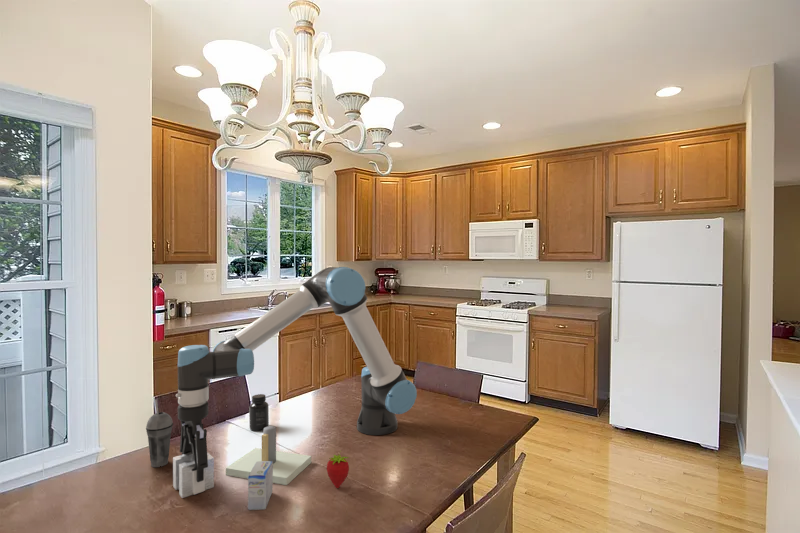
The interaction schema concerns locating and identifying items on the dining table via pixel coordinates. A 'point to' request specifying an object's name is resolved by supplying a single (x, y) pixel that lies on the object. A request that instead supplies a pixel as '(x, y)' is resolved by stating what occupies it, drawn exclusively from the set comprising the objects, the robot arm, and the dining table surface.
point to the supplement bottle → (258, 413)
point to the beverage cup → (159, 437)
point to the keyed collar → (190, 474)
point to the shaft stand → (283, 462)
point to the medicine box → (260, 485)
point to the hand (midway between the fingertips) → (193, 485)
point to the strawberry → (337, 470)
